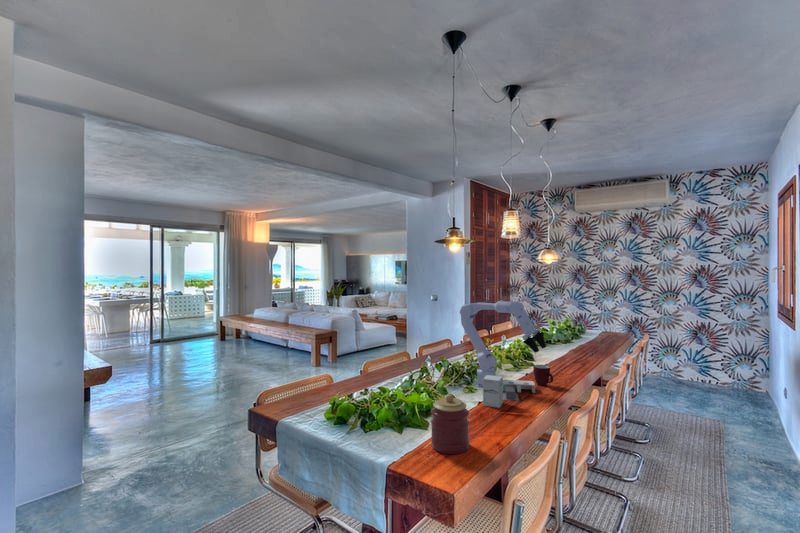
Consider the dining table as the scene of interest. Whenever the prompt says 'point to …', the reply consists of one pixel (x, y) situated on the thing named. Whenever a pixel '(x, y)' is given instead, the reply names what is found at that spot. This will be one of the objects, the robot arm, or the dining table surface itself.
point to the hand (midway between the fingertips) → (540, 349)
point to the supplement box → (492, 391)
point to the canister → (450, 426)
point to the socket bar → (519, 385)
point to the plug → (510, 392)
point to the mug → (542, 374)
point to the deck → (510, 399)
